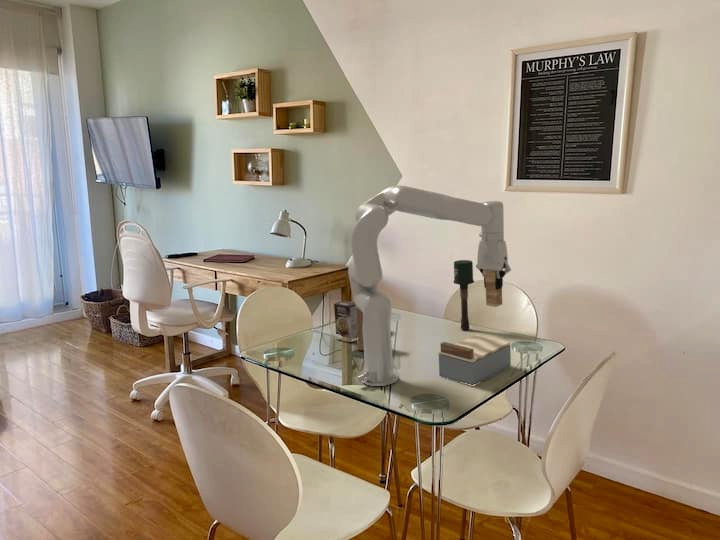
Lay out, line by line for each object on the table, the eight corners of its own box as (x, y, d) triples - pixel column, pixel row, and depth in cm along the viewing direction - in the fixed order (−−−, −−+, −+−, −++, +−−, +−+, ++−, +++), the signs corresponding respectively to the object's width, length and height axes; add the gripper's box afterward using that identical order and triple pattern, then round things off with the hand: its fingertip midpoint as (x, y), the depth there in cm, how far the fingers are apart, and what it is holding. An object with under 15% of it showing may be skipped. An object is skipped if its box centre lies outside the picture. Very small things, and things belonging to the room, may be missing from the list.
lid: (472, 362, 174) (472, 351, 173) (438, 353, 184) (438, 342, 183) (510, 344, 188) (510, 333, 187) (476, 336, 198) (476, 326, 198)
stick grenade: (460, 325, 240) (458, 259, 234) (478, 328, 235) (476, 260, 229) (451, 331, 233) (449, 262, 227) (470, 333, 228) (468, 264, 222)
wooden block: (384, 350, 215) (381, 306, 211) (357, 351, 216) (354, 307, 212) (384, 347, 218) (382, 304, 215) (358, 348, 219) (355, 305, 216)
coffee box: (335, 339, 232) (333, 303, 229) (345, 335, 236) (343, 300, 233) (351, 343, 226) (349, 306, 223) (361, 339, 231) (359, 302, 227)
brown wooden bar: (495, 306, 191) (494, 257, 187) (486, 305, 194) (484, 256, 190) (502, 304, 193) (500, 254, 189) (492, 302, 196) (491, 254, 192)
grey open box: (473, 386, 175) (472, 363, 174) (439, 376, 185) (438, 354, 184) (510, 366, 190) (510, 345, 188) (477, 358, 200) (476, 337, 198)
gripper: (466, 237, 192) (467, 287, 196) (507, 239, 180) (507, 293, 183) (479, 234, 197) (480, 283, 201) (519, 236, 185) (520, 289, 188)
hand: (493, 287), depth 192 cm, fingers closed on brown wooden bar, 4 cm apart
